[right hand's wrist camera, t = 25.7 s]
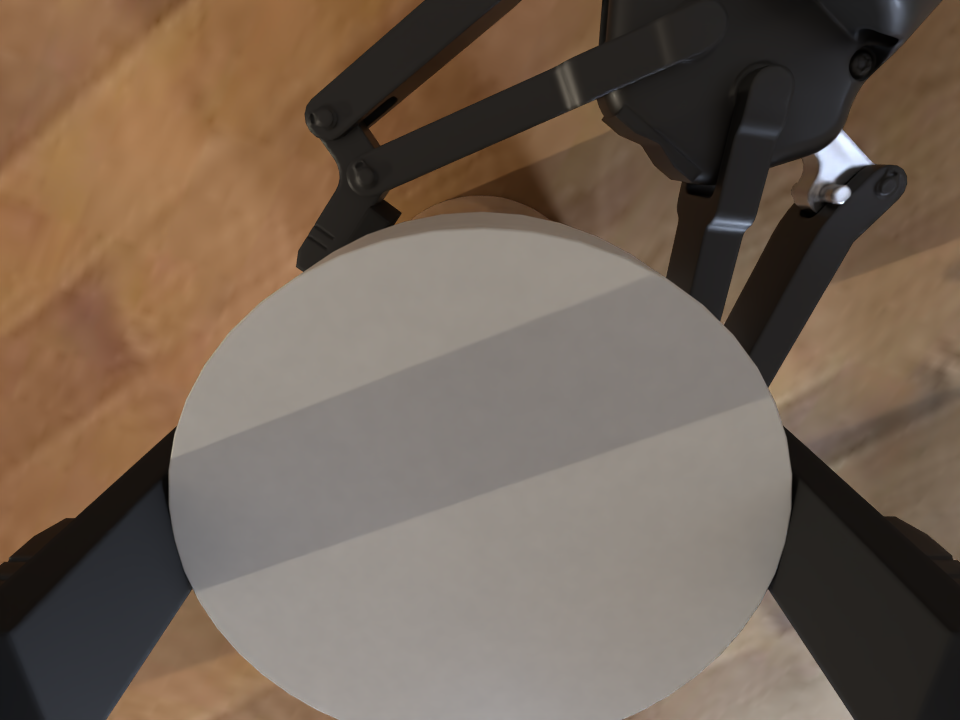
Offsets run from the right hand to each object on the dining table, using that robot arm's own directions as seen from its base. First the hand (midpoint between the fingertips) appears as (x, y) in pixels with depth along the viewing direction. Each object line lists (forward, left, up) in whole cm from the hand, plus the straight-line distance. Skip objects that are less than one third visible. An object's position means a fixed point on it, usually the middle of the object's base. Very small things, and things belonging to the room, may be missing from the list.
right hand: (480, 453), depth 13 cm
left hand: (-3, +3, -7) cm, 8 cm away
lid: (0, 0, +3) cm, 3 cm away
